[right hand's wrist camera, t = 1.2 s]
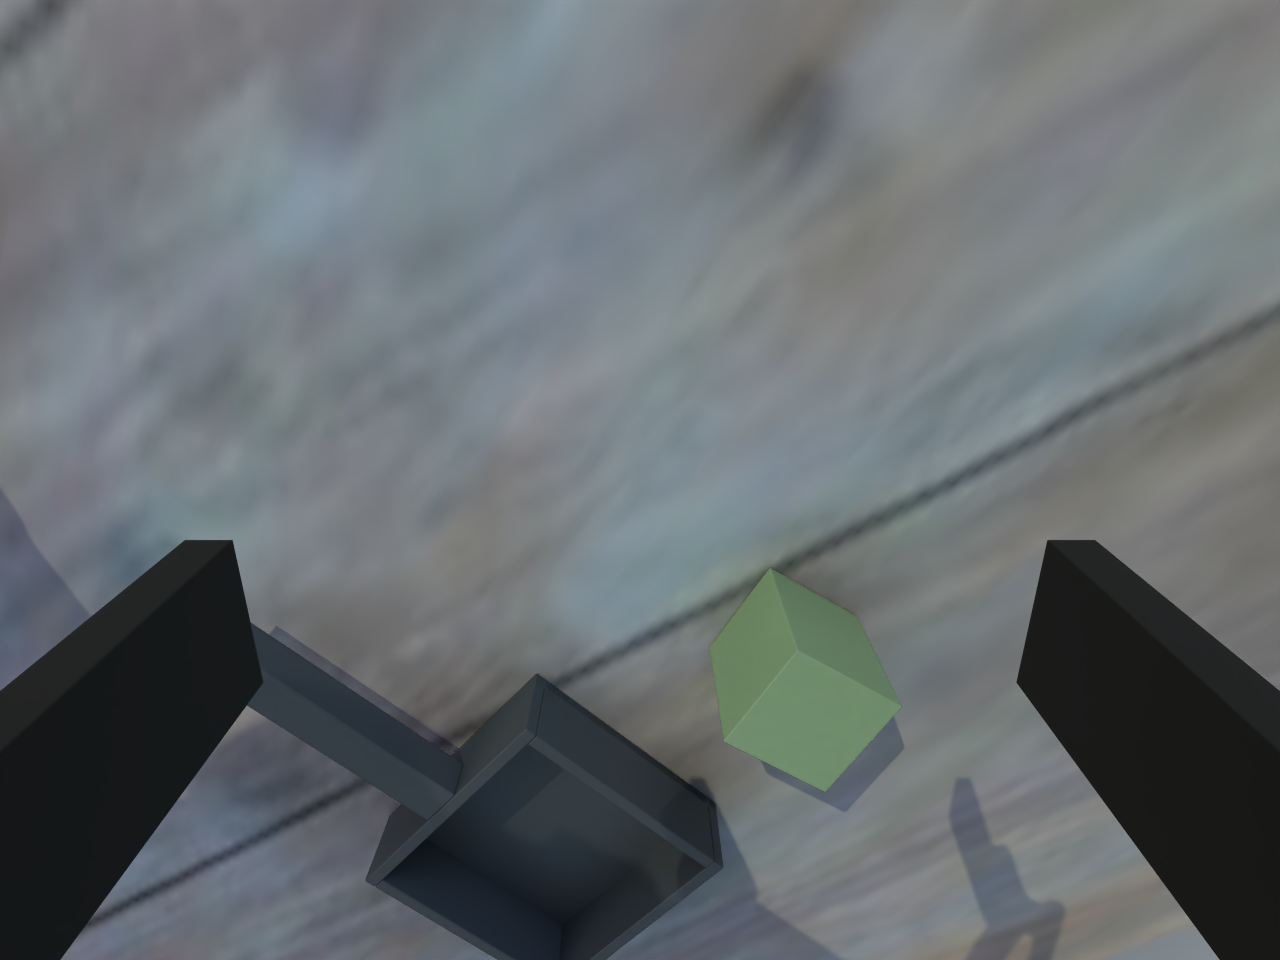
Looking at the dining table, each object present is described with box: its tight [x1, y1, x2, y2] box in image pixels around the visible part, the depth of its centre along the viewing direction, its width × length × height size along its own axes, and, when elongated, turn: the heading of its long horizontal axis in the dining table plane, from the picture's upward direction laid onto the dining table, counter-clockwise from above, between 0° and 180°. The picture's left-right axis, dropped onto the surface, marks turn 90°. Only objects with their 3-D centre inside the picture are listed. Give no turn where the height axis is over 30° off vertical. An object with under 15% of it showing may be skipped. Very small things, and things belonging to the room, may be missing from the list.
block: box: [710, 568, 902, 792], centre depth 33 cm, size 5×5×6 cm
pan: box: [247, 622, 723, 960], centre depth 37 cm, size 25×12×4 cm, turn 48°
